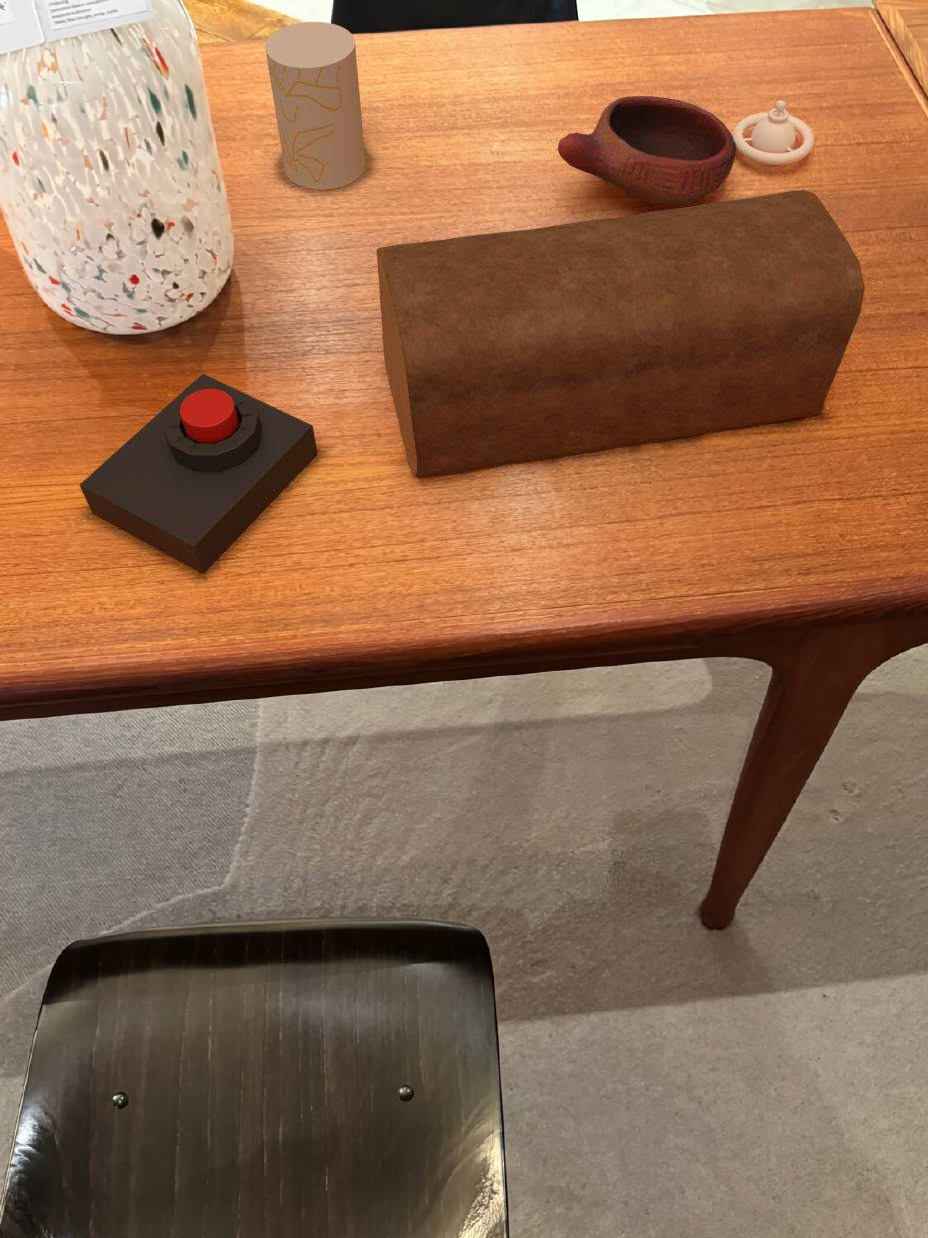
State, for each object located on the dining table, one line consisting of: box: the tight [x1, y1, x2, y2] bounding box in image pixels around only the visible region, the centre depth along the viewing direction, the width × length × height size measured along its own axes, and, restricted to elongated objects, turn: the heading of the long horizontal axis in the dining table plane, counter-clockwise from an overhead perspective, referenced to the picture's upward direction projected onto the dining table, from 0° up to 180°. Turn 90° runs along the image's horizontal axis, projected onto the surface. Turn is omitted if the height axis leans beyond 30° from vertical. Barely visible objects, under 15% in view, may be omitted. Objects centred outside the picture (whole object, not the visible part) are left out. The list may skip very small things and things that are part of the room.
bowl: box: [557, 95, 737, 208], centre depth 99 cm, size 16×13×8 cm
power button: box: [180, 389, 238, 443], centre depth 79 cm, size 4×4×2 cm
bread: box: [375, 189, 865, 479], centre depth 82 cm, size 14×34×14 cm, turn 102°
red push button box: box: [79, 373, 319, 574], centre depth 80 cm, size 14×11×5 cm
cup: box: [264, 21, 367, 191], centre depth 101 cm, size 8×8×12 cm
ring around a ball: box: [731, 99, 815, 166], centre depth 104 cm, size 8×6×8 cm
